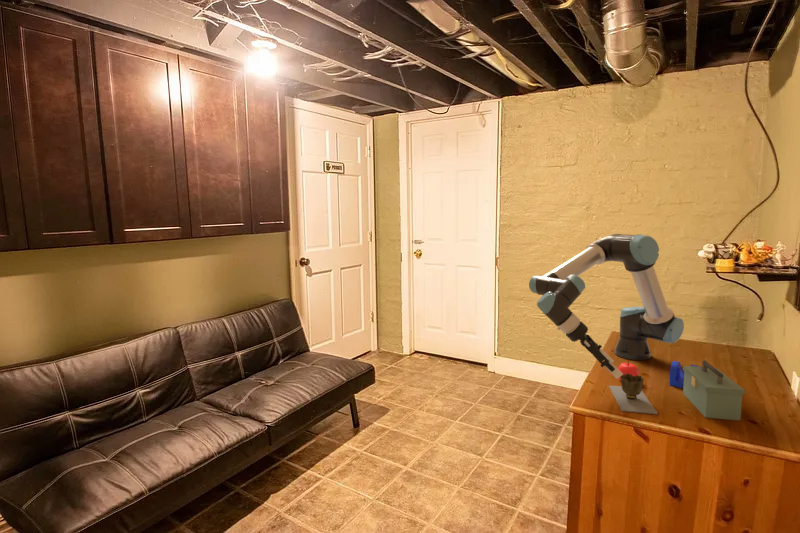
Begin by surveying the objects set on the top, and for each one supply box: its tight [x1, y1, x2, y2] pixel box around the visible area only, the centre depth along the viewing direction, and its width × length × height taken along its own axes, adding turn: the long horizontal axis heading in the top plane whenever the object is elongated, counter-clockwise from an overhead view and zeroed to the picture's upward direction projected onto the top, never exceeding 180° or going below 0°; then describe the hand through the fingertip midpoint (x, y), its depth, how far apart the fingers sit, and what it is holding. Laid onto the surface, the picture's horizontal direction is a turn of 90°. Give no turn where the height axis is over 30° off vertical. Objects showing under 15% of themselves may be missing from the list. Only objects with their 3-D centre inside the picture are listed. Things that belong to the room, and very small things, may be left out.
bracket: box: [668, 360, 700, 389], centre depth 176 cm, size 18×8×9 cm, turn 136°
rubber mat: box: [608, 385, 659, 415], centre depth 161 cm, size 22×11×1 cm, turn 166°
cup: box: [620, 373, 645, 399], centre depth 160 cm, size 8×7×8 cm
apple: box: [617, 361, 640, 381], centre depth 178 cm, size 8×8×8 cm
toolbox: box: [682, 360, 746, 421], centre depth 153 cm, size 21×11×14 cm, turn 166°
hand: (615, 369), depth 160 cm, fingers open, 13 cm apart
